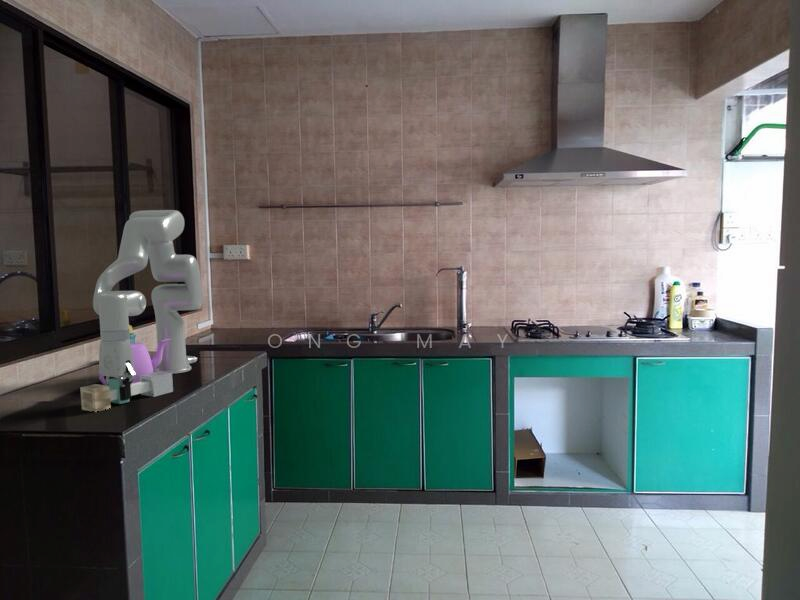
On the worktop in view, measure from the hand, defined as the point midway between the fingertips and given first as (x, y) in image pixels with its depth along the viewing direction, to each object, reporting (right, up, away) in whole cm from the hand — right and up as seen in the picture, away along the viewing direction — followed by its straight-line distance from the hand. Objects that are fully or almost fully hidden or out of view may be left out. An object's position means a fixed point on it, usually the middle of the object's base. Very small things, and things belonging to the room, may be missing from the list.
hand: (119, 398), depth 175 cm
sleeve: (+6, 0, +11) cm, 13 cm away
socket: (-4, -2, -6) cm, 7 cm away
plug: (+1, -1, +1) cm, 2 cm away
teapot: (-9, 0, +26) cm, 28 cm away
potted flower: (-29, +4, +69) cm, 75 cm away
